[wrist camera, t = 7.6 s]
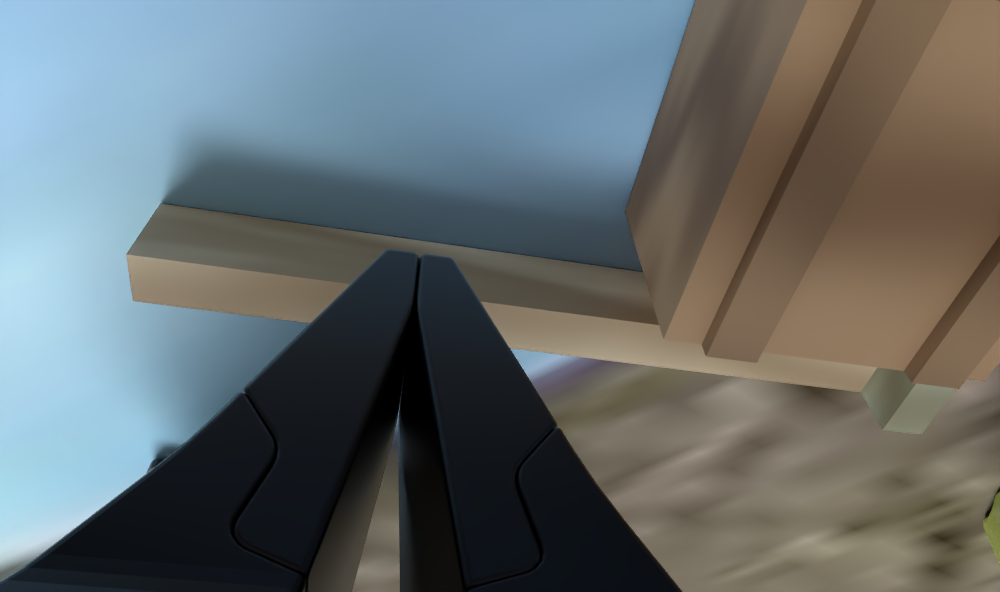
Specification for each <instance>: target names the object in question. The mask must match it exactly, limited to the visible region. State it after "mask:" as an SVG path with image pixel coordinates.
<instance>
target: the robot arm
mask: <svg viewBox="0 0 1000 592" xmlns="http://www.w3.org/2000/svg"><path fill="white" fill-rule="evenodd" d="M401 391H402V393H401ZM400 398H401V401H400ZM399 405H400V410H399ZM398 411H399V425H398V459H399V537H400V592H682V590H681V589H680V588H679V587H678V585H677V584H676V583H675V582H674V581H673V579H672V578H671V577H670V576H669V574H668V573H667V572H666V571H665V569H664V568H663V567H662V566H661V564H660V563H659V562H658V561H657V560H656V558H655V557H654V556H653V555H652V553H651V552H650V551H649V550H648V548H647V547H646V546H645V545H644V544H643V542H642V541H641V540H640V539H639V537H638V536H637V535H636V534H635V532H634V531H633V530H632V529H631V527H630V526H629V525H628V524H627V523H626V521H625V520H624V519H623V517H622V516H621V515H620V514H619V512H618V511H617V510H616V508H615V507H614V506H613V504H612V503H611V502H610V500H609V499H608V498H607V497H606V495H605V494H604V493H603V491H602V490H601V489H600V487H599V486H598V485H597V484H596V482H595V481H594V479H593V478H592V476H591V475H590V473H589V472H588V470H587V469H586V467H585V466H584V464H583V463H582V461H581V460H580V458H579V457H578V455H577V454H576V452H575V451H574V449H573V448H572V446H571V445H570V443H569V442H568V440H567V438H566V437H565V435H564V433H563V432H562V430H561V429H560V428H557V423H556V421H555V420H554V418H553V416H552V415H551V413H550V412H549V410H548V408H547V407H546V405H545V404H544V402H543V400H542V399H541V397H540V396H539V394H538V393H537V391H536V389H535V388H534V386H533V385H532V383H531V381H530V380H529V378H528V377H527V375H526V373H525V372H524V370H523V369H522V367H521V365H520V364H519V362H518V361H517V359H516V358H515V356H514V354H513V353H512V351H511V350H510V348H509V346H508V345H507V343H506V342H505V340H504V338H503V337H502V335H501V334H500V332H499V330H498V329H497V327H496V326H495V324H494V322H493V321H492V319H491V318H490V316H489V315H488V313H487V311H486V310H485V308H484V307H483V305H482V303H481V302H480V300H479V299H478V297H477V295H476V294H475V292H474V291H473V289H472V287H471V286H470V284H469V283H468V281H467V280H466V278H465V276H464V275H463V273H462V272H461V270H460V268H459V267H458V265H457V264H456V262H455V261H454V259H452V258H451V257H446V256H439V255H431V254H423V255H421V257H420V259H419V256H418V254H417V253H415V252H410V251H403V250H396V249H387V250H385V251H384V252H383V253H382V254H381V255H380V256H379V257H378V258H377V259H376V260H375V261H374V262H373V263H372V264H371V265H370V266H369V267H368V268H367V269H366V270H365V271H364V272H362V273H361V274H360V275H359V276H358V277H357V278H356V279H355V280H354V281H353V282H352V283H351V284H350V285H349V286H348V287H347V288H346V289H345V290H344V291H343V292H342V293H341V294H340V295H339V296H338V297H337V298H336V299H335V300H334V301H333V302H332V303H331V304H330V305H329V306H328V307H327V308H326V309H325V310H324V311H322V312H321V313H320V314H319V315H318V316H317V317H316V318H315V319H314V320H313V321H312V322H311V323H310V324H309V325H308V326H307V327H306V328H305V329H304V330H303V331H302V332H301V333H300V334H299V335H298V336H297V337H296V338H295V339H294V340H293V341H292V342H291V343H290V344H289V345H288V346H287V347H286V348H285V349H284V350H282V351H281V352H280V353H279V354H278V355H277V356H276V357H275V358H274V359H273V360H272V361H271V362H270V363H269V364H268V365H267V366H266V367H265V368H264V369H263V370H262V371H261V372H260V373H259V374H258V375H257V376H256V377H255V378H254V379H253V380H252V381H251V382H250V383H249V384H248V385H247V386H246V387H245V388H244V389H243V391H242V392H241V393H238V394H237V395H236V396H235V397H234V398H233V399H232V400H231V401H230V402H229V403H228V404H227V405H226V406H225V407H224V408H223V409H222V410H221V411H220V412H219V413H217V414H216V415H215V416H214V417H213V418H212V419H211V420H210V421H209V422H208V423H207V424H205V425H204V426H203V427H202V428H201V429H200V430H199V431H198V432H197V433H196V434H194V435H193V436H192V437H191V438H190V439H189V440H188V441H187V442H185V443H184V444H183V445H182V446H180V447H179V448H178V449H177V450H175V451H174V452H173V453H172V454H171V455H169V456H168V457H167V458H166V459H156V460H153V461H152V462H151V464H150V466H149V469H148V471H147V474H146V475H144V476H143V477H142V478H140V479H139V480H138V481H136V482H135V483H134V484H133V485H131V486H130V487H129V488H127V489H126V490H125V491H123V492H122V493H121V494H119V495H118V496H117V497H115V498H114V499H113V500H112V501H110V502H109V503H108V504H106V505H105V506H104V507H102V508H101V509H100V510H98V511H97V512H96V513H95V514H93V515H92V516H91V517H89V518H88V519H87V520H85V521H84V522H83V523H81V524H80V525H79V526H77V527H76V528H75V529H74V530H72V531H71V532H70V533H68V534H67V535H66V536H64V537H63V538H62V539H60V540H59V541H58V542H57V543H55V544H54V545H53V546H51V547H50V548H49V549H47V550H46V551H45V552H43V553H42V554H41V555H39V556H38V557H36V558H35V559H34V560H32V561H31V562H29V563H28V564H27V565H25V566H24V567H22V568H21V569H19V570H18V571H16V572H14V573H13V574H11V575H9V576H8V577H6V578H5V579H3V580H1V581H0V592H352V589H353V585H354V581H355V578H356V574H357V570H358V566H359V563H360V559H361V555H362V552H363V548H364V544H365V540H366V537H367V533H368V529H369V525H370V522H371V518H372V514H373V510H374V507H375V503H376V499H377V495H378V492H379V488H380V484H381V481H382V477H383V473H384V469H385V466H386V462H387V458H388V454H389V451H390V447H391V443H392V439H393V435H394V431H395V427H396V423H397V417H398Z"/></svg>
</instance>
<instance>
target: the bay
mask: <svg viewBox="0 0 1000 592" xmlns="http://www.w3.org/2000/svg"><path fill="white" fill-rule="evenodd" d="M387 249H396V250H403V251H410V252H415V253H417V254H418V256H419V259H420V257H421V255H423V254H431V255H439V256H446V257H451V258H452V259H454V261H455V262H456V264H457V265H458V267H459V268H460V270H461V272H462V273H463V275H464V276H465V278H466V280H467V281H468V283H469V284H470V286H471V287H472V289H473V291H474V292H475V294H476V295H477V297H478V299H479V300H480V302H481V303H482V305H483V307H484V308H485V310H486V311H487V313H488V315H489V316H490V318H491V319H492V321H493V322H494V324H495V326H496V327H497V329H498V330H499V332H500V334H501V335H502V337H503V338H504V340H505V342H506V343H507V345H508V346H509V348H512V349H520V350H528V351H536V352H544V353H552V354H560V355H568V356H576V357H584V358H592V359H600V360H608V361H616V362H624V363H632V364H640V365H648V366H656V367H664V368H672V369H680V370H688V371H696V372H704V373H712V374H720V375H728V376H736V377H744V378H752V379H760V380H768V381H776V382H784V383H792V384H800V385H808V386H816V387H824V388H832V389H840V390H848V391H856V392H861V393H862V395H863V397H864V399H865V400H866V402H867V404H868V406H869V407H870V409H871V411H872V412H873V414H874V416H875V418H876V419H877V421H878V423H879V425H880V426H881V428H882V430H888V431H896V432H905V433H913V434H922V433H923V431H924V430H925V429H926V427H927V426H928V425H929V424H930V422H931V421H932V420H933V418H934V417H935V416H936V415H937V413H938V412H939V411H940V409H941V408H942V407H943V406H944V404H945V403H946V402H947V401H948V399H949V398H950V397H951V395H952V394H953V393H954V392H955V390H956V389H955V388H947V387H940V386H932V385H924V384H916V383H911V381H910V380H909V378H908V377H907V375H906V374H905V372H904V371H901V370H893V369H885V368H878V367H870V366H862V365H855V364H847V363H839V362H832V361H824V360H816V359H808V358H801V357H793V356H785V355H778V354H770V353H762V354H761V356H760V358H759V360H758V362H757V363H752V362H745V361H737V360H729V359H721V358H713V357H706V355H705V353H704V350H703V347H702V345H701V344H693V343H686V342H678V341H670V340H663V336H662V333H661V330H660V327H659V323H658V320H657V317H656V313H655V310H654V307H653V303H652V300H651V297H650V293H649V290H648V287H647V284H646V280H645V277H644V274H643V272H638V271H631V270H624V269H617V268H610V267H603V266H596V265H589V264H582V263H575V262H568V261H561V260H554V259H547V258H540V257H533V256H526V255H518V254H511V253H504V252H497V251H490V250H483V249H476V248H469V247H462V246H455V245H448V244H441V243H434V242H427V241H420V240H413V239H406V238H399V237H392V236H385V235H378V234H371V233H364V232H357V231H350V230H343V229H336V228H329V227H322V226H315V225H308V224H301V223H294V222H287V221H280V220H273V219H266V218H259V217H252V216H245V215H237V214H230V213H223V212H216V211H209V210H202V209H195V208H188V207H181V206H174V205H167V204H160V205H159V206H158V208H157V209H156V211H155V212H154V214H153V215H152V217H151V218H150V220H149V221H148V223H147V224H146V226H145V227H144V229H143V230H142V232H141V233H140V235H139V236H138V238H137V239H136V241H135V242H134V244H133V245H132V247H131V248H130V250H129V251H128V253H127V254H126V255H127V262H128V269H129V276H130V283H131V290H132V297H133V301H137V302H145V303H153V304H161V305H169V306H177V307H185V308H193V309H201V310H209V311H217V312H225V313H233V314H241V315H249V316H257V317H265V318H273V319H281V320H289V321H297V322H305V323H311V322H312V321H313V320H314V319H315V318H316V317H317V316H318V315H319V314H320V313H321V312H322V311H324V310H325V309H326V308H327V307H328V306H329V305H330V304H331V303H332V302H333V301H334V300H335V299H336V298H337V297H338V296H339V295H340V294H341V293H342V292H343V291H344V290H345V289H346V288H347V287H348V286H349V285H350V284H351V283H352V282H353V281H354V280H355V279H356V278H357V277H358V276H359V275H360V274H361V273H362V272H364V271H365V270H366V269H367V268H368V267H369V266H370V265H371V264H372V263H373V262H374V261H375V260H376V259H377V258H378V257H379V256H380V255H381V254H382V253H383V252H384V251H385V250H387Z"/></svg>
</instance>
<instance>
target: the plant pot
mask: <svg viewBox="0 0 1000 592" xmlns="http://www.w3.org/2000/svg"><path fill="white" fill-rule="evenodd" d="M983 526H984V530H985V532H986V534H987V537H988V539H989V541H990V543H991V546H992V548H993V550H994V552H995V555H996V557H997V559H998V562H999V564H1000V491H999V492H998V493H997V495H996V496H995V499H994V503H993V507H992V510H991V512H990V514H989V516H988V517H986V518H984V520H983Z"/></svg>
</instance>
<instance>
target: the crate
mask: <svg viewBox="0 0 1000 592" xmlns="http://www.w3.org/2000/svg"><path fill="white" fill-rule="evenodd" d="M625 214H626V218H627V221H628V224H629V227H630V231H631V234H632V237H633V241H634V244H635V247H636V251H637V254H638V257H639V260H640V264H641V267H642V270H643V274H644V277H645V280H646V284H647V287H648V290H649V293H650V297H651V300H652V303H653V307H654V310H655V313H656V317H657V320H658V323H659V327H660V330H661V333H662V336H663V340H670V341H678V342H686V343H693V344H701V345H702V347H703V350H704V353H705V355H706V357H713V358H721V359H729V360H737V361H745V362H752V363H757V362H758V360H759V358H760V356H761V354H762V353H770V354H778V355H785V356H793V357H801V358H808V359H816V360H824V361H832V362H839V363H847V364H855V365H862V366H870V367H878V368H885V369H893V370H901V371H904V372H905V374H906V375H907V377H908V378H909V380H910V381H911V383H916V384H924V385H932V386H940V387H947V388H955V389H959V388H960V387H961V385H962V384H963V383H964V382H965V380H966V379H970V380H977V381H985V380H986V379H987V377H988V376H989V375H990V374H991V372H992V371H993V370H994V369H995V367H996V366H997V365H998V364H999V362H1000V0H696V1H695V4H694V7H693V10H692V13H691V16H690V19H689V22H688V25H687V28H686V31H685V34H684V37H683V40H682V43H681V46H680V49H679V52H678V55H677V58H676V61H675V64H674V67H673V70H672V73H671V76H670V79H669V82H668V85H667V88H666V91H665V94H664V97H663V100H662V103H661V106H660V108H659V111H658V114H657V117H656V120H655V123H654V126H653V129H652V132H651V135H650V138H649V141H648V144H647V147H646V150H645V153H644V156H643V159H642V162H641V165H640V168H639V171H638V174H637V177H636V180H635V183H634V186H633V189H632V192H631V195H630V198H629V201H628V204H627V207H626V210H625Z"/></svg>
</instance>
